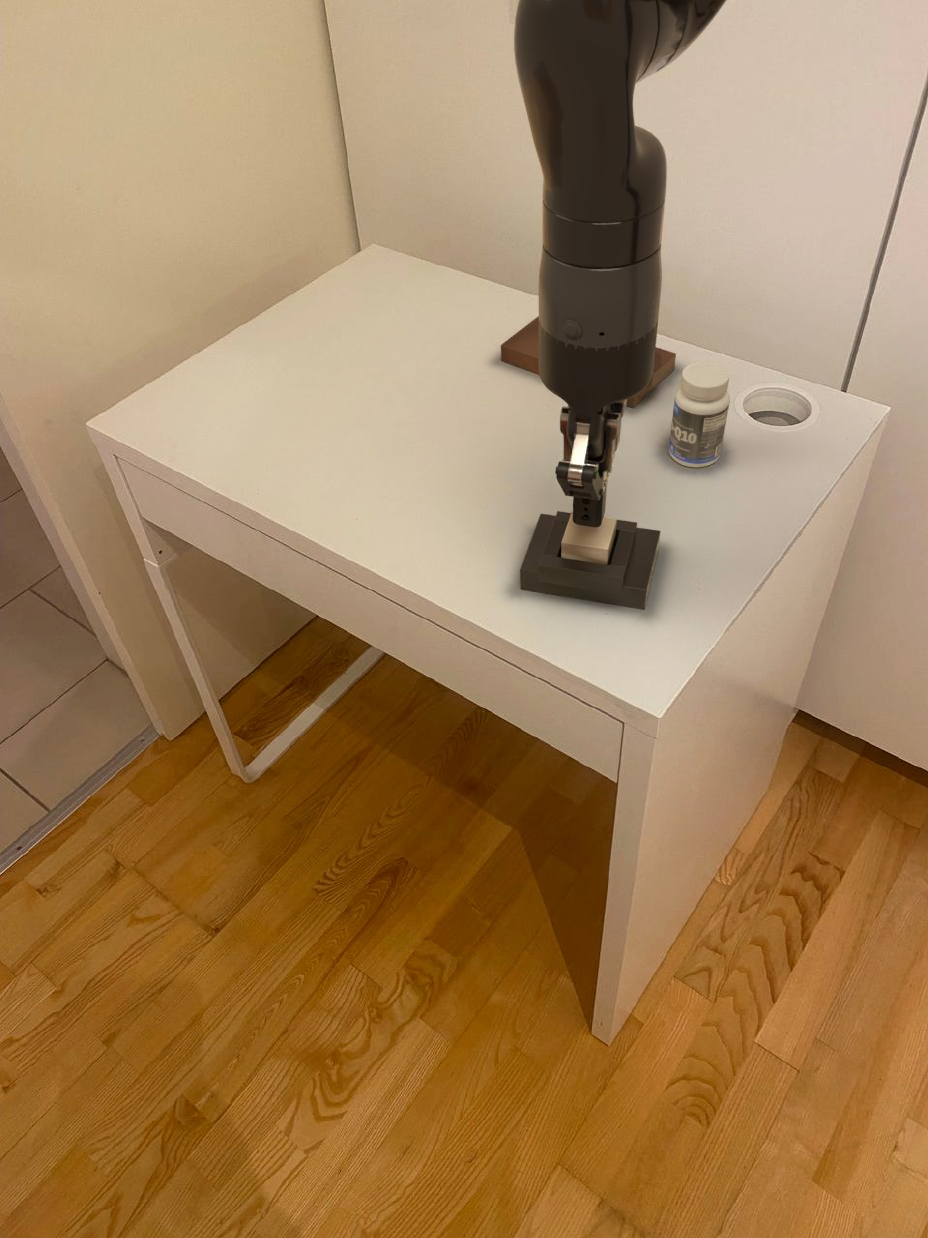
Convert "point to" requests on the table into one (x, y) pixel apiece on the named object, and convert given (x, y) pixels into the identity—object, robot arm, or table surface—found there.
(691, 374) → the pill bottle
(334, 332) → the table surface
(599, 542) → the near key
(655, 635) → the table surface
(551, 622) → the table surface
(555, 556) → the key box
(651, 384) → the brown flat piece
